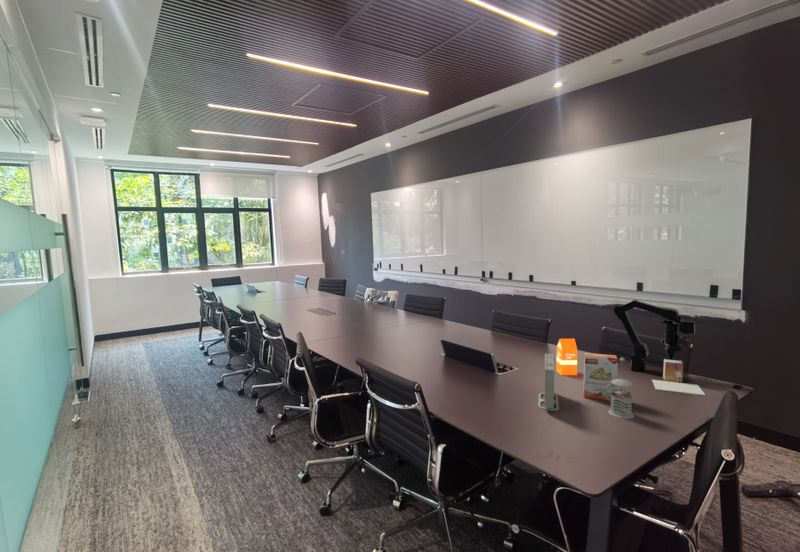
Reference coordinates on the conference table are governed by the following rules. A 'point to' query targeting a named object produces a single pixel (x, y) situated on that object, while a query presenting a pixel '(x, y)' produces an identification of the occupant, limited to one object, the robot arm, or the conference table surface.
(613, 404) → the french press
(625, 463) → the conference table surface
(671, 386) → the grey mat
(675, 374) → the small box
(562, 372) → the orange juice
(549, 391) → the network device
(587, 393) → the cracker box
